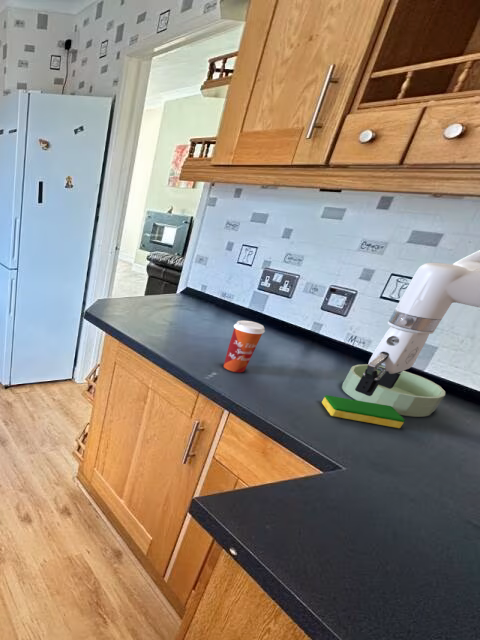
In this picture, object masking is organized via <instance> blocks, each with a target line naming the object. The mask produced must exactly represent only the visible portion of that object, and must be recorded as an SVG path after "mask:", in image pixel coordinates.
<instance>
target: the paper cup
mask: <svg viewBox="0 0 480 640" xmlns="http://www.w3.org/2000/svg"><path fill="white" fill-rule="evenodd" d="M265 332H266V330H265V327H264V325H263V324H261V323H259V322H255V321H252V320H237V321H236V323H235V324H234V325H233V330H232V334H231V338H230V341H229V343H228V346H227V347H228V348H227V351H226V355H225V359H224V362H223V368H224V369H226V370H228V371H230V372H233V373H244V372H245V371H246V369H247V367H248V364H249V363H250V361H251V358H252V357H253V355H254V352H255V351H256V350H255V349H257V346H258V344H259V342H260V340H261V337H262V335H263V334H264V333H265Z"/></svg>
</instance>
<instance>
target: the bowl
mask: <svg viewBox="0 0 480 640" xmlns="http://www.w3.org/2000/svg"><path fill="white" fill-rule="evenodd" d="M367 367H368V364H367V363H365V364H363V363H362V364H356V365H353V366H351V368H350V369H349V371H348V372H347V374H346V377H345V379H344V381H343V382H342V385H341V389H342V391H343V392H344V393H345V394H346V395H347V396H348V397H350V398H352V399H353V400H358V401H364V402H369V403H375V404H381V405H387V406H391V407H393V408H394V409H395V410H396V411H397V412H398V413H399V414H400V415H401V416H405V417H412V418H413V417H414V418H417V417H418V418H420V417H421V418H422V417H429V416H431V415H432V414H433V412H435V411H436V410H437V408H438V407H439V405H440V404H441V402H442V401H443V399H444V398H445V396H446V391H445V390H444V389H443V388H442V386H441V385H439V384H437V383H435V382H434V381H432V380H430V379H428V378H426V377H423V376H421V375H418V374H415V373H412V372H409V371H406V370H403V372H402V373H399V374H401V375H400V376H399V378H398V380H397V381H396V383H395V385H394V386H393V388H391V389H389V388H386V387H383V386H381V385H378V386H377V388H376V389H375V391H374V393H373V395H371V396H367V395H365V394H362V393H360V392H357V391H356V390H355V388H356V387H357V385H358V383H359V381H360V380H361V378H362V376H363V374H364V373H365V371H366V369H367ZM379 367H382V368H385V367H383V366H380V365H379ZM376 371H377V375H378V374H379V373H380V372H381V371H378V370H376Z"/></svg>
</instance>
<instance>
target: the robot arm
mask: <svg viewBox="0 0 480 640" xmlns="http://www.w3.org/2000/svg"><path fill="white" fill-rule="evenodd" d="M453 303H458V304H460V305H465V306H470V307H475V308H478V309H479V308H480V249H478V250H476V251H475V252H472V253H470V254H468V255H467V256H464V257H462V258H460V259H459V260H456V261H454V263H444V262H426V263H423V264H422V265H420V266H419V267H418V268H417V269H416V271H415V273H414V275H413V276H412V278H411V281H410V282H409V284H408V286H407V287H406V289H405V291H404V293H403V294H402V296H401V298H400V299H399V301H398V303H397V304H396V307H395V309H394V311H393V312H392V313H391V316H390V318H389V320H388V321H387V325H388V326H389V328H388V329H387V330H386V332H385V333H384V335H383V336H382V338H381V340H380V341H379V343H378V345H377V346H376V348H375V349H374V351H373V353H372V354H371V357H370V358H369V360H368V367H367V369H366V371H365V373H364V374H363V376H362V378H361V380H360V381H359V383H358V385H357V387H356V388H355V390H356V391H357V392H360V393H362V394H365V395H367V396H371V395H373V393H374V391H375V389H376V388H377V386H378V385H381V386H383V387H386V388H389V389H391V388H393V386H394V385H395V383H396V381H397V380H398V378H399V376H400V375H401V374H399V373H402V372H403V371H406V370H409V369H411V368H412V367H413V366H414V364H415V362H416V360H417V359H418V357H419V356H420V354H421V352H422V350H423V348H424V346H425V344H426V343H427V340H428V338H429V335H432V334H434V332H435V331H436V329H438V326H439V325H440V323H441V322H442V320H443V318H444V316H445V315H446V313H447V312H448V310H449V309H450V308H451V305H452V304H453ZM379 366H383V367H385V368H382V367H379ZM376 370H378V371H381V372H380V373H379V374H378V375H377V371H376Z"/></svg>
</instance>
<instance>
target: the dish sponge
mask: <svg viewBox="0 0 480 640" xmlns="http://www.w3.org/2000/svg"><path fill="white" fill-rule="evenodd" d="M321 404H322V406H323V407H324V408H325V410H326V411H327V413H328V414H329V415H330V416H331V417H335V418H340V419H341V418H342V419H346V420H351V421H358V422H362V423H367V424H373V425H379V426H385V427H390V428H395V429H401V427H402V426H403V425H404V423H405V421H406V419H405V418H404V417H403V415H400V414H399V413H398V412H397V411H396V410H395V409H394V408H393V407H391V406H387V405H381V404H375V403H369V402H364V401H358V400H355V399H353V398H352V399H351V398H347V397H346V398H345V397H339V396H333V395H328V394H325V395H324V397H323V399H322V401H321Z"/></svg>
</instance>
